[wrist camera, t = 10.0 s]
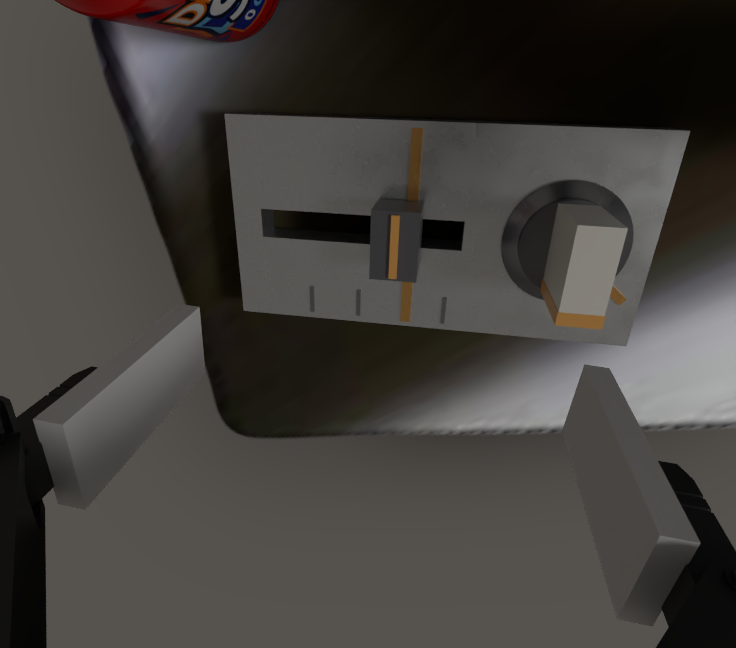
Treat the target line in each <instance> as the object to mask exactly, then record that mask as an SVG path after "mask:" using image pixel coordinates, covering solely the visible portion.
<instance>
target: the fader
mask: <svg viewBox="0 0 736 648" xmlns="http://www.w3.org/2000/svg"><path fill="white" fill-rule="evenodd" d="M423 213H424V202H421V201H404V200H387V199H378V201H377V202H376V203H375V205H374V206H373V208H372V209H371V230H370V267H369V279H375V280H388V281H400V282H412V283H416V281H417V276H418V271H419V266H420V253H421V239H422V226H423Z"/></svg>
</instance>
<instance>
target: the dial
mask: <svg viewBox="0 0 736 648" xmlns="http://www.w3.org/2000/svg"><path fill="white" fill-rule="evenodd" d="M627 230H628V228H627V227H626V226H625V225H623V224H622V223H621V222H620V221H618V220H617V219H616V218H615V217H613V216H612V215H611V214H610V213H609V212H607V211H606V210H605V209H604V208H602V207H601V206H600V205H598V204H596V203H595V202H592V201H590V200H586V199H582V198H564V199H559V200H556V201H553V202H551V203H548V204H546V205H545V206H543V207H541V208H540V209H538V210H537V211H536V212H535V213H534V214H533V215H532V216H531V217H530V218H529V219H528V220H527V222H526V223H525V225H524V226H523V228H522V230H521V233H520V235H519V239H518V246H517V252H518V258H519V261H520V264H521V267H522V270H523V272H524V273H525V275H526V276H527V278H528V279H529V280H530V281H531V282H532V283H533V284H534V285H536V286H537V287H539V288H540V291H541V294H542V296H543V298H544V301H545V303H546V305H547V308H548V310H549V313H550V315H551V317H552V320H553V322H554V324H555V325H556V326H567V327H578V328H590V329H601V330H602V328H603V324H604V321H605V317H606V316H605V313H606V309H607V305H608V302H609V298H610V294H611V290H612V287H613V283H614V279H615V275H616V272H617V268H618V264H619V260H620V257H621V253H622V249H623V245H624V242H625V238H626V234H627Z"/></svg>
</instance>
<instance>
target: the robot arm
mask: <svg viewBox="0 0 736 648" xmlns="http://www.w3.org/2000/svg"><path fill="white" fill-rule="evenodd" d="M204 374H205V364H204V353H203V342H202V331H201V320H200V309H199V307H196V306H189V305H182V304H178V305H177V306H176V307H174V308H173V309H172V310H171V311H169V312H168V313H167V314H166V315H164V316H163V317H162V318H160V319H159V320H158V321H157V322H155V323H154V324H153V325H152V326H150V327H149V328H148V329H147V330H145V331H144V332H143V333H142V334H140V335H139V336H138V337H136V338H135V339H134V340H133V341H131V342H130V343H129V344H128V345H126V346H125V347H124V348H123V349H121V350H120V351H119V352H117V353H116V354H115V355H114V356H112V357H111V358H110V359H109V360H107V361H106V362H105V363H104V364H102V365H101V366H100V367H98V368H97V367H89V368H87V369H85V370H83V371H80V372H78V373H76V374H74V375H72V376H71V377H70V378H68V379H67V380H66V381H64V382H63V383H62V384H60V387H57V388H55V389H54V390H52V391H51V392H50V393H49V395H48V396H47V395H46V396H44V397H43V398H42V399H41V400H39V401H38V402H37V403H35V404H34V405H33V406H31V407H30V408H29V409H27V410H26V411H25V412H23V413H22V414H21V415H19V416H18V417H17V418H16V416H15V413H14V410H13V407H12V404H11V402H10V400H9V399H7V398H5V397H3V396H0V648H46V569H45V568H46V562H45V560H46V558H45V506H44V503H43V500H42V498H43V497H44V496H45V495H46V494H47V493H48V492H49V491H50V490H51V489H52V488H54V491H55V494H56V498H57V501H58V504H61V505H66V506H71V507H76V508H81V509H86V508H87V507H88V506H89V505H90V504H91V503H92V501H93V500H94V499H95V498H96V497H97V496H98V494H99V493H100V492H101V491H102V490H103V489H104V488H105V486H106V485H107V484H108V483H109V482H110V481H111V480H112V479H113V477H114V476H115V475H116V474H117V473H118V472H119V471H120V469H121V468H122V467H123V466H124V465H125V464H126V463H127V461H128V460H129V459H130V458H131V457H132V456H133V455H134V453H135V452H136V451H137V450H138V449H139V448H140V447H141V445H142V444H143V443H144V442H145V441H146V440H147V439H148V437H149V436H150V435H151V434H152V433H153V432H154V431H155V430H156V428H157V427H158V426H159V425H160V424H161V423H162V422H163V420H164V419H165V418H166V417H167V416H168V415H169V413H170V412H171V411H172V410H173V409H174V408H175V407H176V406H177V404H178V403H179V402H180V401H181V400H182V399H183V397H184V396H185V395H186V394H187V393H188V392H189V391H190V390H191V388H192V387H193V386H194V385H195V384H196V383H197V382H198V380H199V379H200V378H201V377H202V376H203V375H204ZM562 433H563V437H564V440H565V444H566V447H567V450H568V454H569V457H570V461H571V464H572V467H573V471H574V474H575V478H576V481H577V485H578V488H579V491H580V495H581V498H582V501H583V505H584V509H585V512H586V515H587V519H588V522H589V525H590V529H591V532H592V536H593V539H594V542H595V546H596V549H597V552H598V556H599V560H600V563H601V566H602V570H603V573H604V577H605V580H606V584H607V587H608V590H609V594H610V597H611V601H612V604H613V608H614V611H615V614H616V618H617V619H619V620H624V621H629V622H634V623H639V624H643V625H649V626H653V625H654V623H655V621H656V619H657V618H658V616H659V614H660V613H661V611H663V613H664V616H665V618H666V621H667V624H668V626H669V628H668V630H667V631H666V633H665V634H664V636H663V637H662V639H661V641H660V642H659V644H658V645H657V647H656V648H736V551H735V549H734V548H733V546H732V544H731V543H730V541H729V539H728V537H727V536H726V534H725V533H724V531H723V529H722V527H721V526H720V524H719V522H718V520H717V519H716V517H715V515H714V514H713V513H711V509H710V507H709V505H708V503H707V502H706V500H705V499H703V495H702V493H701V492H700V490H699V488H698V486H697V485H696V483H695V481H694V480H693V479H692V478H691V477H690V476H689V475H688V474H687V473H686V472H685V471H684V470H683V469H681V467H679V466H678V465H677V464H673V463H667V462H661V461H657V459H656V457H655V455H654V453H653V451H652V449H651V447H650V445H649V443H648V441H647V439H646V438H645V436H644V434H643V432H642V430H641V428H640V426H639V424H638V422H637V420H636V418H635V417H634V415H633V413H632V411H631V409H630V407H629V405H628V403H627V401H626V399H625V397H624V395H623V394H622V392H621V390H620V388H619V386H618V384H617V382H616V380H615V378H614V376H613V374H612V373H611V371H610V369H609V368H604V367H597V366H590V365H584V368H583V371H582V374H581V377H580V380H579V383H578V386H577V389H576V392H575V395H574V398H573V401H572V404H571V407H570V410H569V412H568V415H567V418H566V421H565V424H564V427H563V430H562Z"/></svg>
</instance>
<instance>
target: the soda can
mask: <svg viewBox="0 0 736 648" xmlns="http://www.w3.org/2000/svg"><path fill="white" fill-rule="evenodd" d="M55 1H57V2H58V3H60V4H61V5H63V6H65V7H67V8H69V9H71V10H73V11H75V12H78V13H80V14H83V15H86V16H90V17H94V18H99V19H103V20H109V21H114V22H119V23H124V24H129V25H134V26H139V27H145V28H150V29H155V30H160V31H165V32H170V33H176V34H181V35H186V36H191V37H196V38H201V39H207V40H212V41H218V42H236V41H241V40H244V39H247V38H249V37H251V36H253V35H254V34H256V33H257V32H258V31H260V30H261V29H262V28H263V27H264V26H265V25H266V24H267V22H268V21H269V20H270V18H271V17H272V15H273V13H274V12H275V10H276V7H277V5H278V2H279V0H55Z"/></svg>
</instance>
